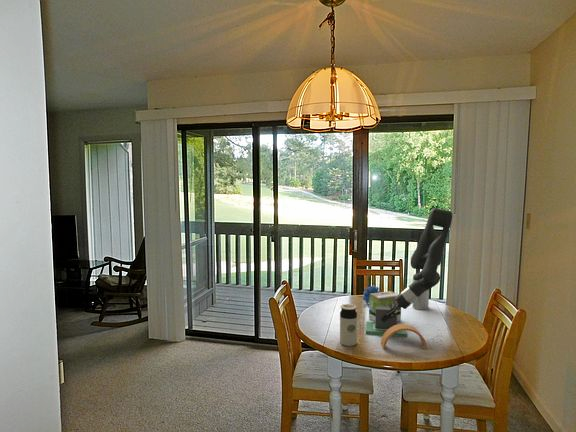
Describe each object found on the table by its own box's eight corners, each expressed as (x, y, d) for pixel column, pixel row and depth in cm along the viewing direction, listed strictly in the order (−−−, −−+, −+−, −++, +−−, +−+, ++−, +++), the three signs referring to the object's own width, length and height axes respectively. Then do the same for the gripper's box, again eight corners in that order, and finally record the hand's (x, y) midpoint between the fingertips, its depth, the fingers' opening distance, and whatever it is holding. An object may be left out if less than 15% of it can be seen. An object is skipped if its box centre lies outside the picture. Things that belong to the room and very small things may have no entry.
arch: (380, 344, 181) (381, 323, 181) (423, 344, 180) (424, 324, 179) (383, 349, 176) (383, 328, 175) (427, 350, 174) (427, 328, 174)
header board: (366, 324, 207) (366, 316, 207) (404, 326, 203) (404, 318, 202) (365, 333, 193) (365, 325, 193) (406, 337, 189) (407, 328, 189)
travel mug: (339, 339, 187) (339, 303, 185) (355, 339, 186) (355, 303, 185) (340, 346, 179) (341, 308, 177) (357, 346, 178) (358, 309, 177)
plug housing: (375, 324, 201) (375, 306, 201) (396, 325, 199) (396, 307, 198) (375, 327, 197) (375, 309, 196) (396, 329, 194) (396, 310, 193)
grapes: (376, 300, 248) (376, 282, 247) (381, 304, 242) (381, 285, 241) (359, 302, 245) (360, 284, 244) (364, 305, 239) (364, 286, 238)
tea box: (379, 324, 206) (379, 298, 205) (368, 319, 215) (368, 293, 214) (401, 320, 212) (401, 294, 211) (389, 315, 221) (390, 290, 220)
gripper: (400, 288, 202) (376, 309, 205) (402, 296, 188) (377, 318, 191) (410, 298, 201) (386, 319, 204) (413, 307, 187) (387, 329, 191)
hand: (382, 318), depth 198 cm, fingers closed on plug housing, 5 cm apart
